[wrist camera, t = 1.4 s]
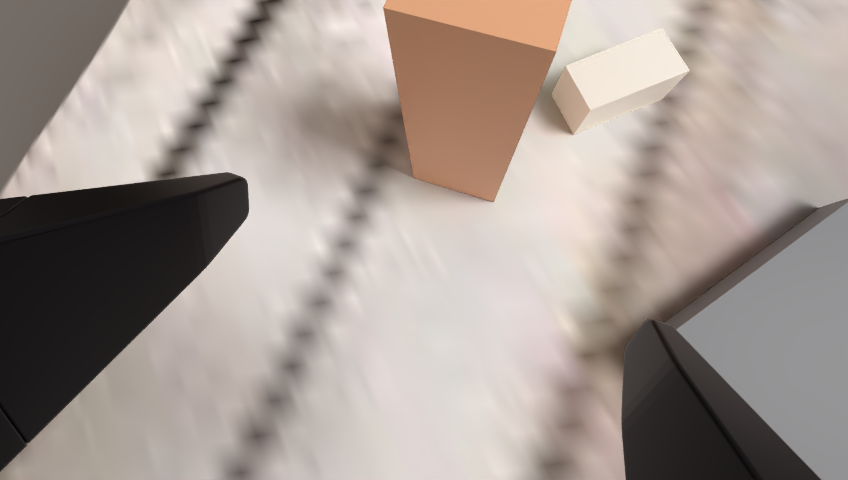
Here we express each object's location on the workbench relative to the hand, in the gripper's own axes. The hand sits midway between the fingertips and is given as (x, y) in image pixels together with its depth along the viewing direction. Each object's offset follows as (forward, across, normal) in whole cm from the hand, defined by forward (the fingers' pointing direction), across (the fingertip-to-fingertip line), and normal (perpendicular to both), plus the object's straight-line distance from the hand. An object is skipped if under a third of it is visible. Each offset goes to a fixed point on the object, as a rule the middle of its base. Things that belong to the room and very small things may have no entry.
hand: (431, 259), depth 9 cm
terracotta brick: (+16, +1, +4) cm, 17 cm away
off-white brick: (+21, -6, 0) cm, 22 cm away
